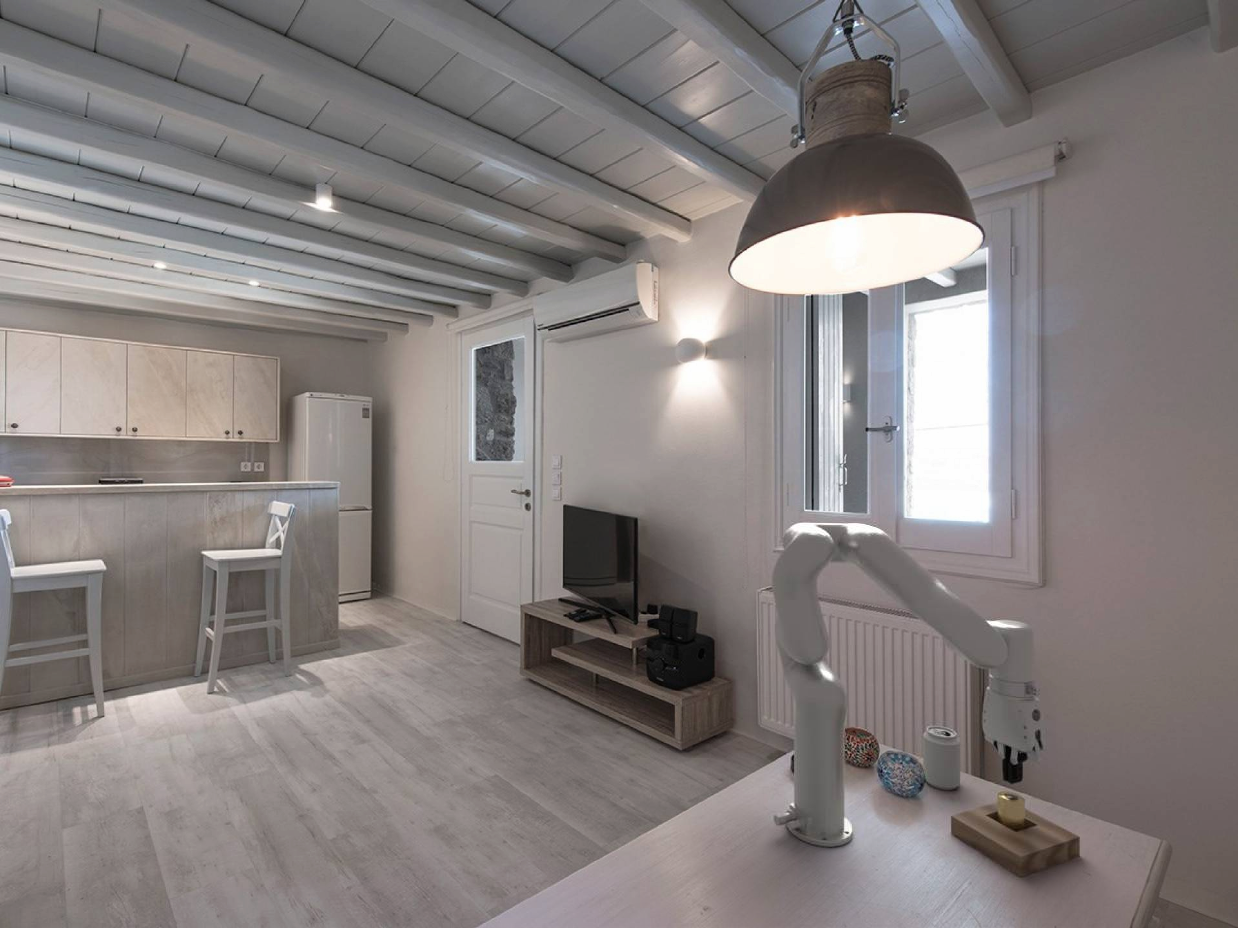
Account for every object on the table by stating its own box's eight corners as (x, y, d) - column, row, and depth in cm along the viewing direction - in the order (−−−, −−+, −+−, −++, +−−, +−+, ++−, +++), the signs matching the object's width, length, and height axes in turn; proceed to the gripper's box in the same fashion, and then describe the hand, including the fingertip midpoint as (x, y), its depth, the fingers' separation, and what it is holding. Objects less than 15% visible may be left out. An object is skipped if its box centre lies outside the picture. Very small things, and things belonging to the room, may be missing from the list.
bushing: (1014, 847, 117) (1014, 804, 118) (992, 834, 122) (992, 793, 122) (1030, 842, 119) (1030, 799, 119) (1008, 829, 123) (1008, 788, 123)
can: (965, 793, 137) (964, 738, 137) (928, 789, 139) (928, 735, 139) (953, 776, 144) (953, 725, 144) (919, 773, 146) (919, 722, 146)
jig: (1020, 876, 109) (1020, 856, 109) (951, 833, 122) (951, 815, 122) (1079, 855, 115) (1079, 836, 115) (1007, 816, 128) (1007, 799, 128)
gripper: (1064, 696, 115) (1065, 795, 115) (989, 671, 129) (990, 760, 129) (1036, 702, 112) (1038, 804, 112) (963, 676, 126) (964, 767, 126)
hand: (1012, 780), depth 120 cm, fingers closed
